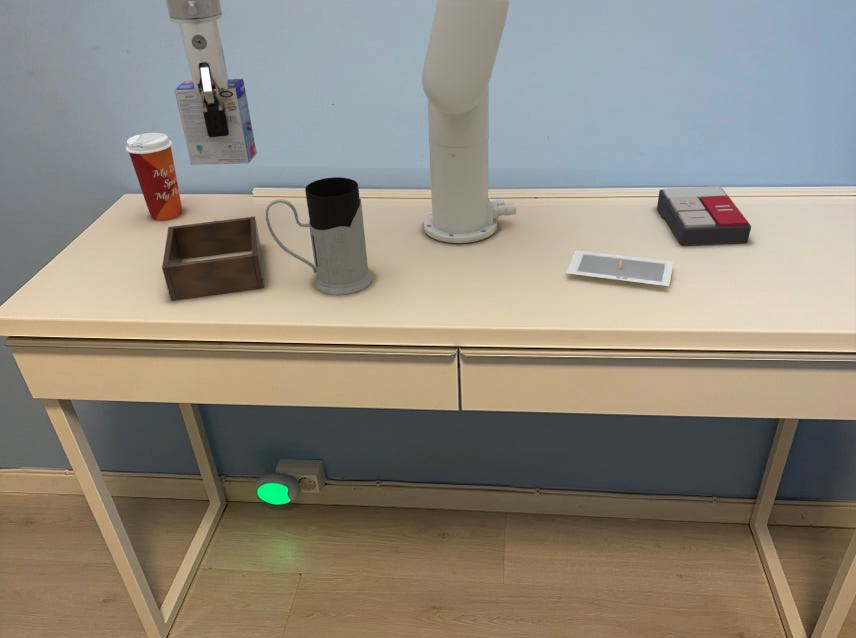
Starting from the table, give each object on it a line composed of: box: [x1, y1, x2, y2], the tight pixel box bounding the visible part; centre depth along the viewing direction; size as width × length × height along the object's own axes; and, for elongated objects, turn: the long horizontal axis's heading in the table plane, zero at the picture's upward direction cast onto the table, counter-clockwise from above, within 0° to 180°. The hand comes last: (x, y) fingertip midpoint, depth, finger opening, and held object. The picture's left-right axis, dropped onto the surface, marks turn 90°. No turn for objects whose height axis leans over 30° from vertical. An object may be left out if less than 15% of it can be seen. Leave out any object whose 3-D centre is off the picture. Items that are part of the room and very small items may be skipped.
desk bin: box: [161, 216, 265, 302], centre depth 116 cm, size 14×15×6 cm
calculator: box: [656, 185, 752, 247], centre depth 126 cm, size 11×4×15 cm
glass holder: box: [265, 176, 373, 296], centre depth 110 cm, size 9×14×15 cm, turn 99°
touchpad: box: [565, 250, 675, 287], centre depth 113 cm, size 8×15×2 cm, turn 71°
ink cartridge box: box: [174, 67, 258, 166], centre depth 119 cm, size 10×6×14 cm, turn 90°
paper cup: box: [125, 132, 183, 221], centre depth 134 cm, size 8×8×14 cm
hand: (218, 128), depth 121 cm, fingers closed on ink cartridge box, 6 cm apart
